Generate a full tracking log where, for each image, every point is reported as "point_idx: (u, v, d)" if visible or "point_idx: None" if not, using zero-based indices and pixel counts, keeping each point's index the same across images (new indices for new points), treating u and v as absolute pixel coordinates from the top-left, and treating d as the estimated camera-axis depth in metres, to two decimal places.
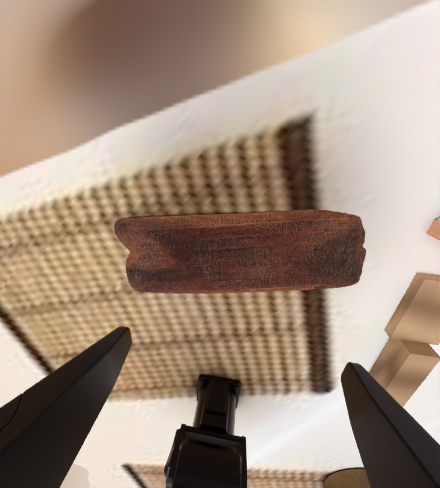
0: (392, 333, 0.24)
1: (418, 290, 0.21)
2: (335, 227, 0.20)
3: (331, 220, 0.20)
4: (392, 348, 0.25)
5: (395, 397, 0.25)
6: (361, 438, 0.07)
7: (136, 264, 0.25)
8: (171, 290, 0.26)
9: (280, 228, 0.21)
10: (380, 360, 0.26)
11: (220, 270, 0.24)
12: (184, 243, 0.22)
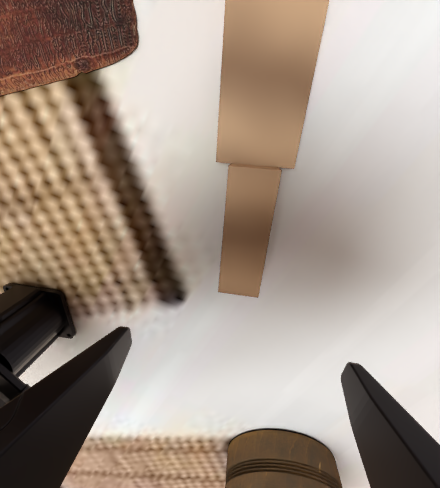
0: None
1: (225, 27, 0.11)
2: None
3: None
4: None
5: (240, 276, 0.15)
6: (361, 438, 0.07)
7: None
8: None
9: None
10: None
11: None
12: None
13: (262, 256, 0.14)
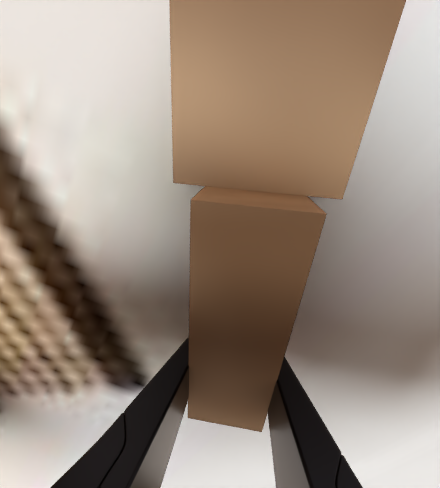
0: (173, 157, 0.06)
1: None
2: None
3: None
4: None
5: (228, 401, 0.08)
6: (271, 421, 0.07)
7: None
8: None
9: None
10: None
11: None
12: None
13: (271, 375, 0.07)
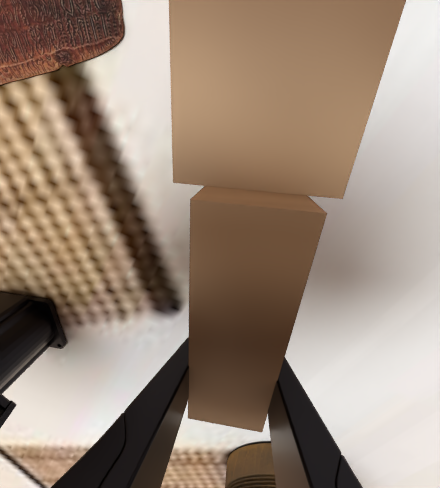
0: None
1: None
2: None
3: None
4: None
5: (228, 401, 0.08)
6: (271, 421, 0.07)
7: None
8: None
9: None
10: None
11: None
12: None
13: (271, 375, 0.07)
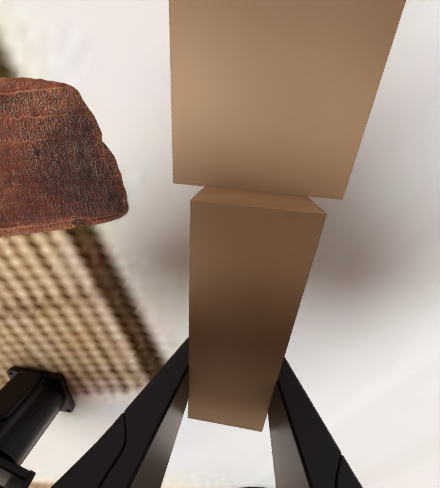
0: None
1: None
2: (46, 107, 0.12)
3: (34, 92, 0.12)
4: None
5: (228, 401, 0.08)
6: (271, 421, 0.07)
7: None
8: None
9: None
10: None
11: None
12: None
13: (271, 375, 0.07)
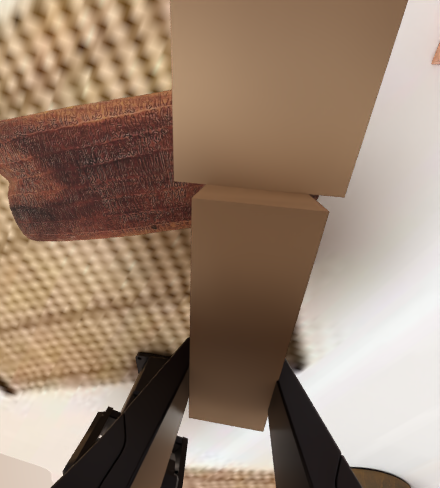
0: None
1: None
2: None
3: None
4: None
5: (229, 401, 0.08)
6: (271, 421, 0.07)
7: (17, 198, 0.18)
8: (72, 234, 0.19)
9: None
10: None
11: (124, 196, 0.17)
12: (64, 155, 0.16)
13: (273, 375, 0.07)
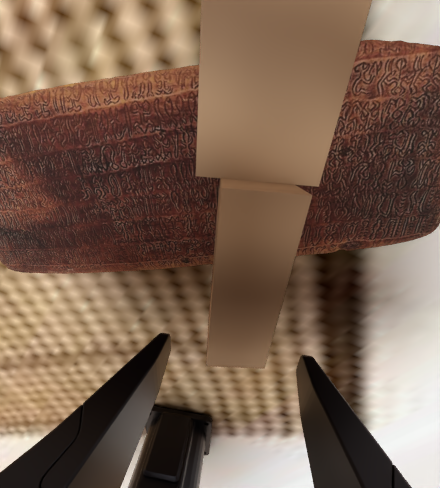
0: (196, 156, 0.08)
1: None
2: (395, 83, 0.08)
3: (385, 61, 0.08)
4: (217, 216, 0.09)
5: (240, 345, 0.10)
6: (306, 428, 0.07)
7: None
8: (68, 266, 0.14)
9: None
10: (213, 263, 0.11)
11: (146, 218, 0.12)
12: (59, 158, 0.11)
13: (273, 319, 0.09)
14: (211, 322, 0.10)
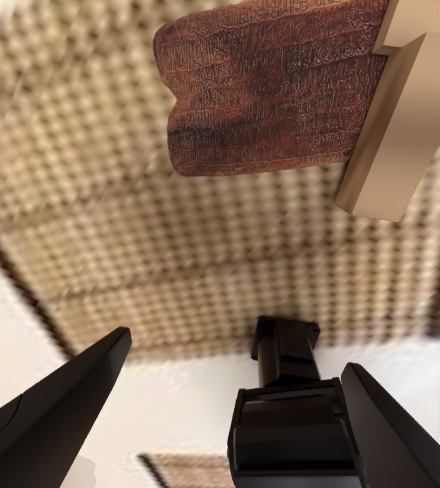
0: (389, 27, 0.11)
1: None
2: None
3: None
4: (386, 85, 0.12)
5: (387, 193, 0.13)
6: (361, 438, 0.07)
7: (186, 117, 0.16)
8: (238, 165, 0.17)
9: None
10: (363, 136, 0.14)
11: (328, 110, 0.14)
12: (273, 54, 0.13)
13: (424, 165, 0.12)
14: (372, 165, 0.13)
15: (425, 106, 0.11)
